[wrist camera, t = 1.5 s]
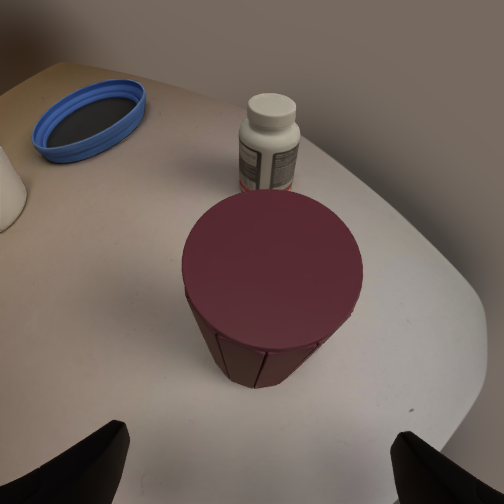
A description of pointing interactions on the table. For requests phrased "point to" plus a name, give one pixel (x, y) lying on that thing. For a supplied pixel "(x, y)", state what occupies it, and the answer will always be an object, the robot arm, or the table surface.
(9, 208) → the mug
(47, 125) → the bowl
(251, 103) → the pill bottle
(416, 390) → the table surface
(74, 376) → the table surface
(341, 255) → the maroon grooved cylinder
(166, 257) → the table surface
